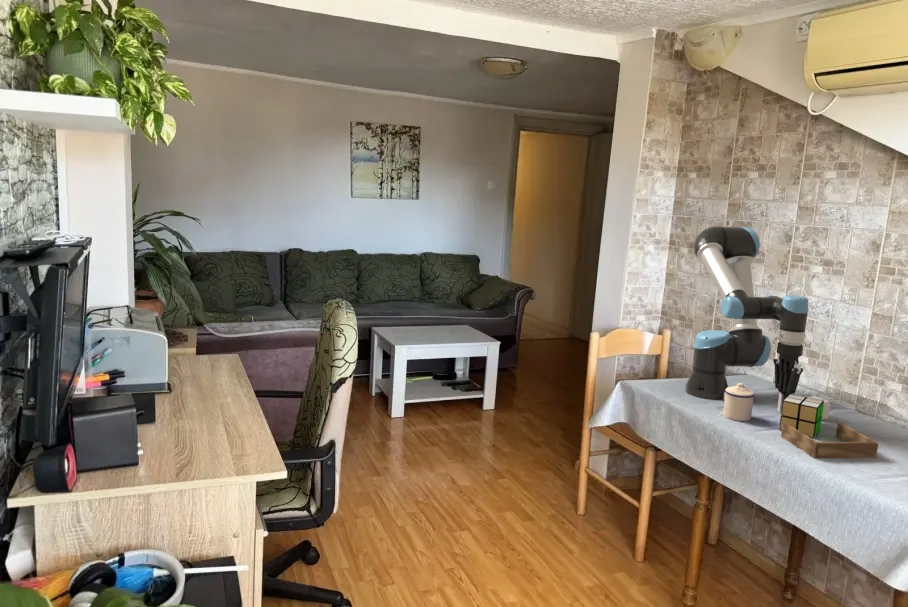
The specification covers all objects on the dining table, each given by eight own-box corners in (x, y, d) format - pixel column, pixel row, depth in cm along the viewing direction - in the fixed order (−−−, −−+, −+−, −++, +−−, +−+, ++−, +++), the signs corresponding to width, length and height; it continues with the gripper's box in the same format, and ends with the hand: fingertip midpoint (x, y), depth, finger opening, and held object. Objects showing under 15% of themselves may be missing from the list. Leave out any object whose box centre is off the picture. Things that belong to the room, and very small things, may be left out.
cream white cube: (828, 418, 217) (830, 401, 216) (815, 420, 215) (818, 403, 214) (812, 412, 222) (815, 396, 221) (800, 414, 220) (802, 397, 219)
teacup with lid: (757, 421, 212) (761, 387, 210) (733, 422, 210) (737, 388, 208) (735, 408, 224) (738, 376, 222) (711, 410, 222) (715, 377, 220)
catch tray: (781, 436, 199) (782, 423, 198) (838, 436, 201) (840, 422, 200) (813, 458, 183) (815, 443, 182) (876, 457, 185) (878, 443, 184)
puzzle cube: (786, 422, 212) (790, 393, 210) (820, 430, 206) (824, 400, 204) (778, 430, 204) (782, 400, 202) (814, 438, 198) (818, 407, 196)
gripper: (768, 338, 216) (760, 405, 220) (791, 347, 204) (783, 418, 208) (789, 338, 217) (781, 405, 221) (813, 347, 204) (804, 418, 208)
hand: (782, 411), depth 214 cm, fingers closed
